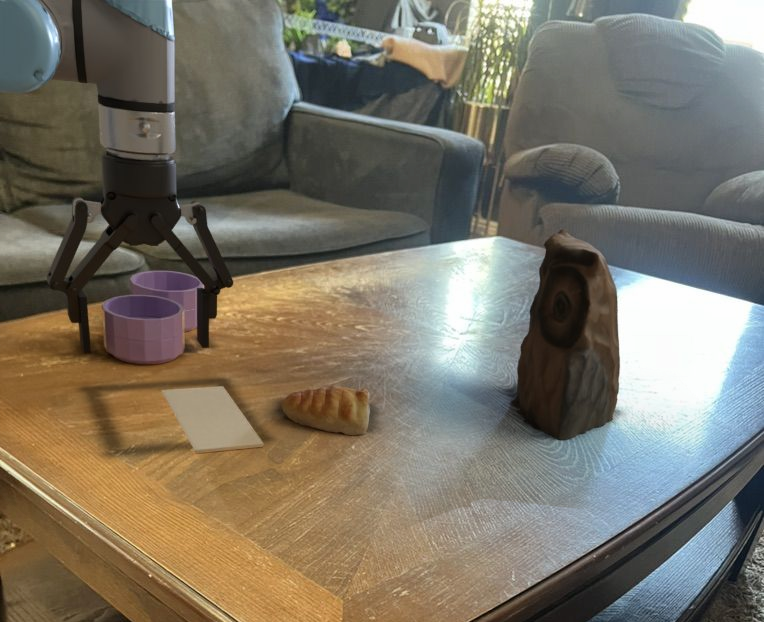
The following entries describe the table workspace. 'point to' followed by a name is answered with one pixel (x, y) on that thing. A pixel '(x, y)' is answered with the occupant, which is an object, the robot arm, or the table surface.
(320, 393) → the pastry
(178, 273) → the far dish
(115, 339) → the near dish
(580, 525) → the table surface
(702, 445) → the table surface
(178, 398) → the place mat
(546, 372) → the owl
